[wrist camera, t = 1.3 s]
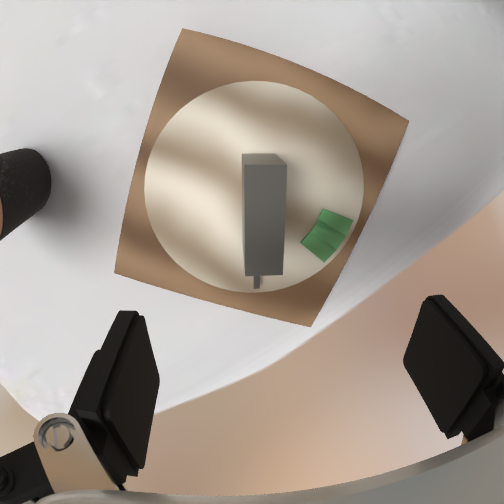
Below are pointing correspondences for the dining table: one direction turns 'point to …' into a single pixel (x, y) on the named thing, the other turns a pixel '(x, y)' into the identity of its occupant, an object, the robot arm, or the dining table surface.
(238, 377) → the dining table surface
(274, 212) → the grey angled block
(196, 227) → the brown wooden flat block
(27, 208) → the travel mug
